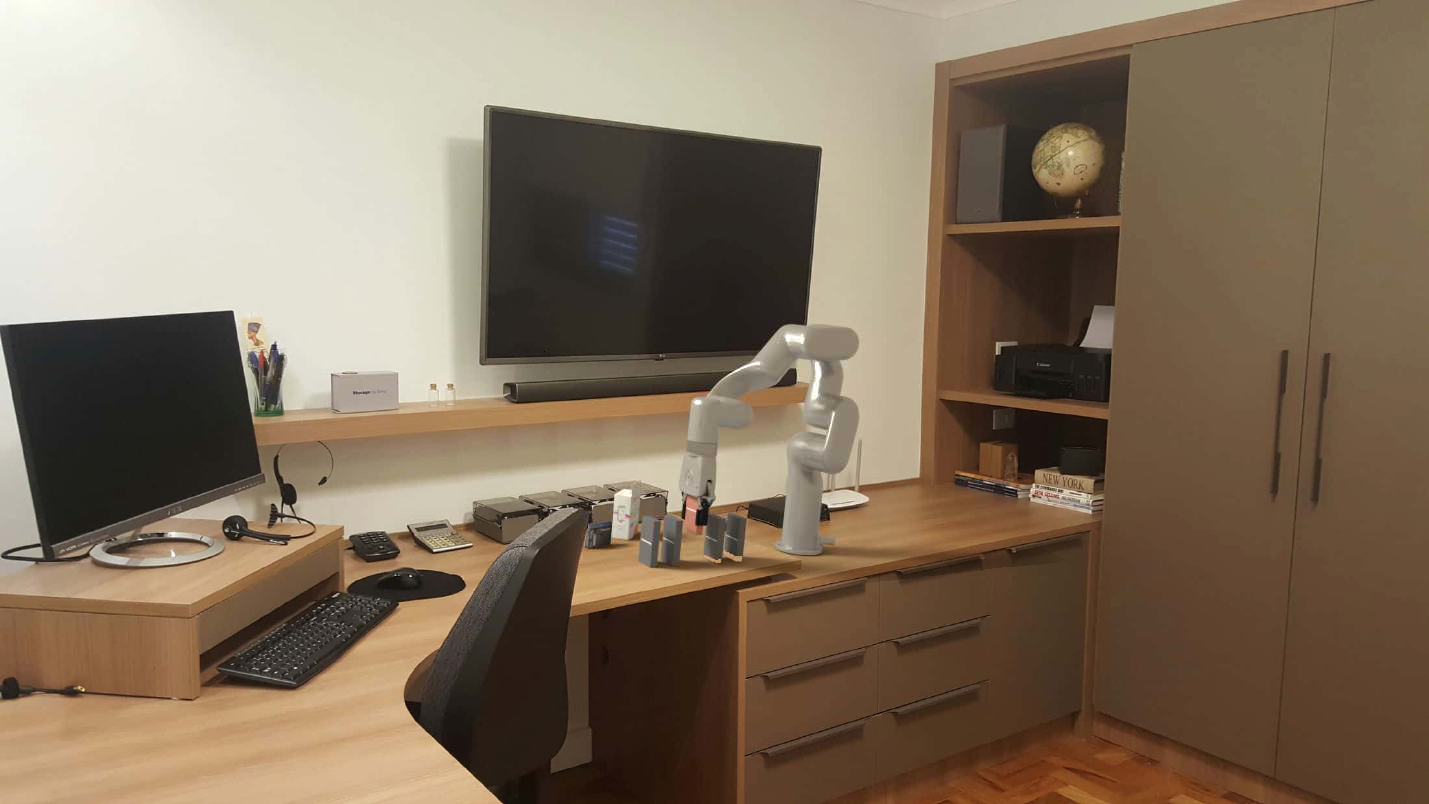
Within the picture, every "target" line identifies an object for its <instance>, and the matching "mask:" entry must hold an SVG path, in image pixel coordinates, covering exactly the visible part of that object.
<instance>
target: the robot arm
mask: <svg viewBox="0 0 1429 804" xmlns="http://www.w3.org/2000/svg"><path fill="white" fill-rule="evenodd" d="M859 347H860V338H859V336H858V334H857V332H856V331H855V330H853V328H851V327H848V326H841V325H831V324H823V323H814V324H809V325H803V324H795V323H793V324H792V323H790V324H789V323H788V324H785V325H782V326H781V327H780V328H779V329H778V330H777V331H775V333H774V334H773V335H772V337H771V338H770V339H768V341H767V342H766V344H765V345H764V346H763V347H762V349H761V350H760V351H759V352H758V353H757V354H756V355H755V357H754V358H753V359H752V360H751V361H749V362H748V363H746V364H744V365H743V366H741V367H739V368H736V370H734V371H732V372H731V373H729V374H727V375H726V376H724V377H723V378H721V379H720V380H719V381H718V382H717V383H716V384H715V385H714V386H713V388H712V389H711V390H710V391H709V392H708V394H707V395H706V396H705V397H704V396H697V397H694V398H692V400H691V402H690V410H689V418H688V420H689V421H688V430H687V438H686V447H685V453H684V454H683V459H682V464H681V468H680V475H679V481H678V483H679V484H678V489H679V492H680V491H681V496H682V498H681V502H682V506H681V515H680V516H681V517H680V519H681V520H683V521H684V519H685V511H686V500H687V495H690V496H693V497H696V498H698V509H697V510H696V519H695V525H696V526H703V527H704V526H705V527H706V526H707V524H708V515H709V514H710V510H711V509H712V508H711V507H712V505H713V503H714V502H715V501H716V500H717V496H716V494H715V490H716V486H717V485H716V483H717V482H716V481H717V456H718V449H719V439H720V430H721V429H727V430H732V431H741V430H744V429H746V428H748V427H749V426H750V425H751V423H752V421H753V419H754V411H753V408H752V407H751V405H750V404H749V403H748V402H746V401H744V400H742V399H740V398H742V397H743V396H745V395H747V394H749V393H752V392H756V391H760V390H765V389H768V388H771V387H773V386H775V385H777V384H778V383H780V381H781V380H782V378H783V377H784V376H785V375H786V373H787V372H788V371H789V370H790V368H791V367H792V366H793V365H794V364H795V362H797V361H798V360H806V361H809V363H810V366H811V377H810V381H809V386H808V388H807V392H806V396H805V400H804V404H803V408H802V420H803V422H804V423H805V424H807V426H809V427H813V428H816V429H819V430H824V431H826V435H825V434H823V433H817V432H812V431H799V432H796V433H795V434H794V435H792V436H791V437H790V438H789V441H788V443H787V447H786V457H787V469H788V470H787V484H786V494H785V502H784V503H785V505H784V512H783V513H784V514H783V521H782V530H781V539H779V540H777V541H776V542H775V543H774V547H775V548H776V549H777V550H778V551H781V552H783V553H786V554H791V555H792V554H793V555H799V556H817V555H820V554H822V553H823V546H834V547H835V545H836V539H835V538H834V537H833V538H830V537H828V536H822V535H820V534H819V531H820V530H819V529H820V520H821V512H822V511H821V510H822V501H823V493H824V481H823V476H822V473H824V474H828V475H837V474H840V473H841V472H843V470H845V468H846V467H847V465H848V463H849V460H850V458H851V454H852V449H853V446H854V443H855V438H856V436H857V435H856V434H857V431H858V427H859V423H860V411H859V410H860V409H859V407H858V404H857V403H856V402H855V401H854V399H852V398H850V397H848V396H845V395H841V393H842V389H843V383H844V370H843V369H844V367H843V365H842V362H841V361H847V360H849V359H852V358H853V357H854V356H855V354H856V353H857V352H858V350H859ZM703 494H706V496H702V495H703ZM702 499H706V500H705V501H704V502H703V503H702Z"/></svg>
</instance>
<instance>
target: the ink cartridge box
mask: <svg viewBox="0 0 1429 804" xmlns="http://www.w3.org/2000/svg"><path fill="white" fill-rule="evenodd" d="M641 484H642V482H641V480H638V481H635V482H634V483H632V484H631V489H626V488H623V489H622V490H619V491H618V492H617V493H615V494H614V499H613V514H612V515H613V516H612V535H611V539H616V540H617V539H618V540H624V541H629V540H630V539H632V538H634V537H635V536H636V535H637V534H638V530H639V529H638V527H639V517H640V505H641V495H642V494H641V493H642V490H641V489H642V488H641V487H642V485H641ZM636 487H637V488H636ZM636 533H637V534H636ZM634 535H635V536H634Z"/></svg>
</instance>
